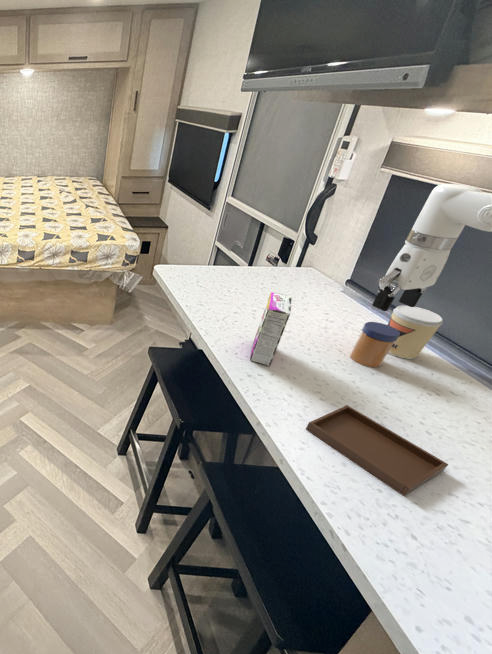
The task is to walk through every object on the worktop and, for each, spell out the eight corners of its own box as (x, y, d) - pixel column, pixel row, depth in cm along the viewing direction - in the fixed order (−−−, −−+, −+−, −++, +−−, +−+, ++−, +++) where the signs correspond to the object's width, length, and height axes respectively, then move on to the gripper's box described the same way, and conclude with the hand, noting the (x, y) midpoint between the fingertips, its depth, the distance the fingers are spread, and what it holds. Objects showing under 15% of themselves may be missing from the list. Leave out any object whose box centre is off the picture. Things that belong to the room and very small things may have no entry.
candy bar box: (252, 341, 115) (270, 291, 107) (272, 346, 112) (292, 295, 104) (248, 360, 107) (267, 308, 99) (270, 367, 104) (291, 313, 96)
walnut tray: (443, 471, 76) (448, 464, 75) (404, 496, 71) (409, 489, 70) (343, 411, 90) (347, 404, 89) (305, 429, 85) (308, 422, 84)
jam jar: (386, 363, 105) (403, 333, 100) (371, 369, 103) (389, 339, 98) (358, 350, 110) (374, 321, 106) (344, 356, 108) (359, 326, 103)
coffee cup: (367, 339, 115) (386, 303, 109) (404, 342, 113) (425, 306, 108) (390, 359, 107) (412, 321, 101) (430, 362, 105) (454, 324, 100)
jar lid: (402, 338, 101) (406, 332, 100) (387, 344, 99) (390, 338, 98) (371, 325, 106) (374, 319, 106) (356, 330, 104) (359, 325, 103)
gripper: (419, 249, 86) (381, 318, 94) (479, 242, 89) (436, 309, 97) (382, 237, 92) (349, 303, 100) (439, 231, 95) (402, 295, 104)
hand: (392, 306), depth 99 cm, fingers open, 8 cm apart
